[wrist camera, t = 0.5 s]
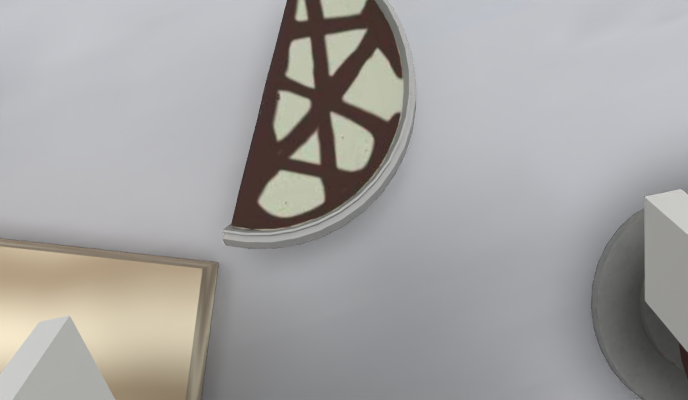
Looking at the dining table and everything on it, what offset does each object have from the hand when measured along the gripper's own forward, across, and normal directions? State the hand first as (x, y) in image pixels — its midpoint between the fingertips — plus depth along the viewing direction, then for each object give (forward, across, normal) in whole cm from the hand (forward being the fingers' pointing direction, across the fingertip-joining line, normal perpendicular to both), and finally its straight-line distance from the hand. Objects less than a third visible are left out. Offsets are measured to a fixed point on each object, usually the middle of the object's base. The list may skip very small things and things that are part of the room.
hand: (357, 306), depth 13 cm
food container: (+19, +2, +2) cm, 19 cm away
